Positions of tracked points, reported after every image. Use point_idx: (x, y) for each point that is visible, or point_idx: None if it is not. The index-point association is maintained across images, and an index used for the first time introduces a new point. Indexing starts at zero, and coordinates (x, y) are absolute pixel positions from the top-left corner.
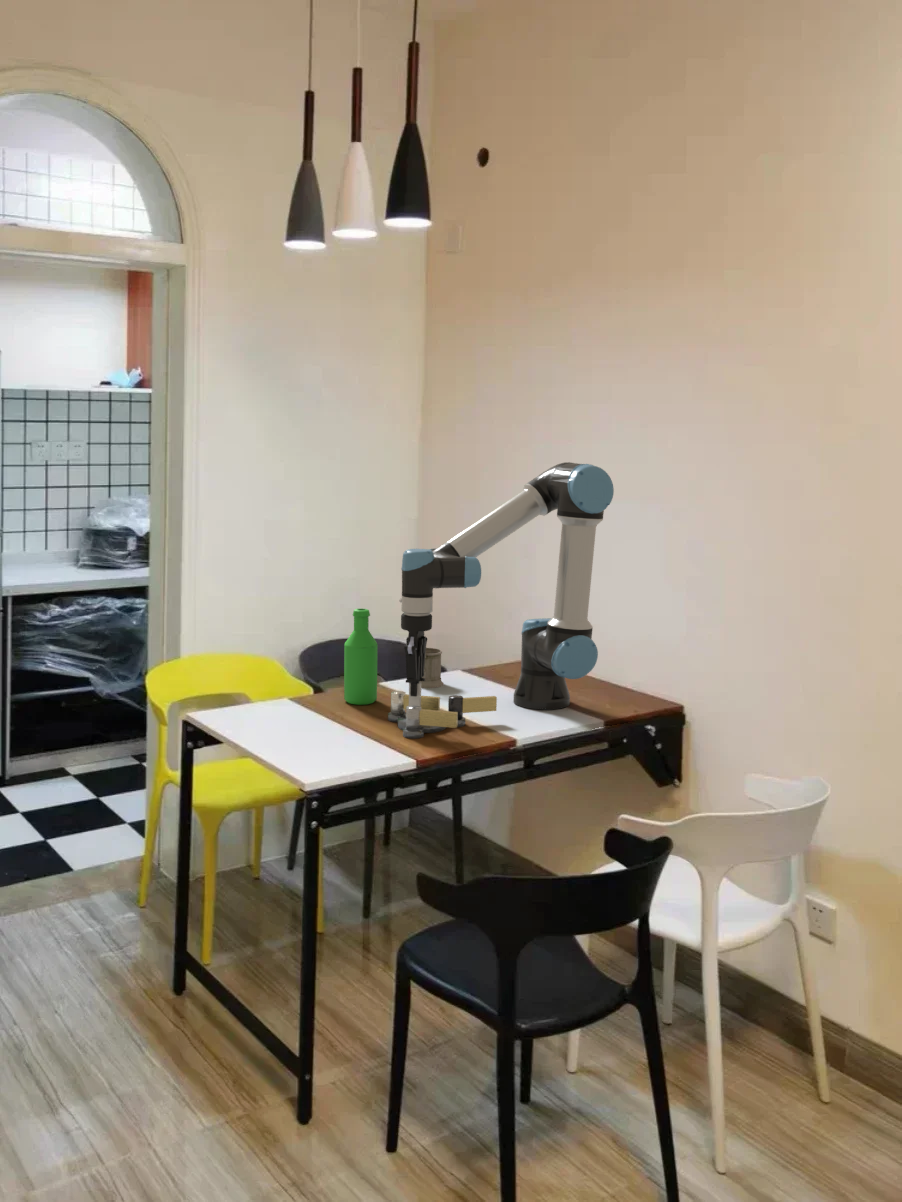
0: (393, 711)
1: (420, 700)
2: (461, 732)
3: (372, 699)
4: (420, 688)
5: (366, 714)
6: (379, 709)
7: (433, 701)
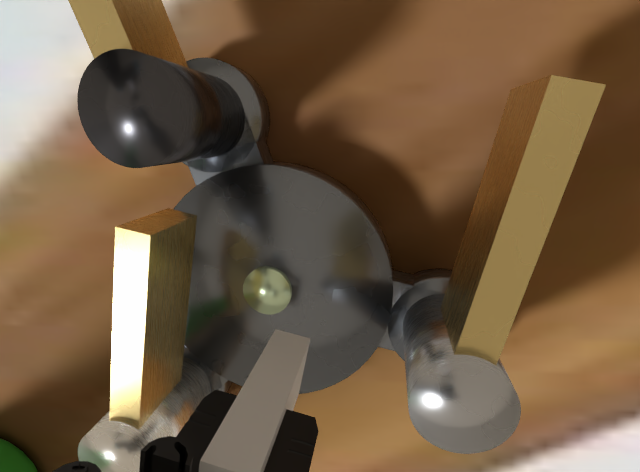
0: None
1: (273, 359)
2: (362, 77)
3: (4, 456)
4: (248, 425)
5: None
6: (74, 422)
7: (163, 260)
